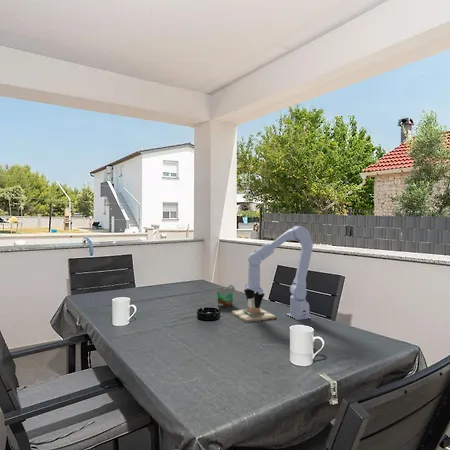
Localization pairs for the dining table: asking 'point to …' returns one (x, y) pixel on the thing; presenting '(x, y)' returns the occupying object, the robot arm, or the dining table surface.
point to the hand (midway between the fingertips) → (253, 305)
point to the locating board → (253, 315)
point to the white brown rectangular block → (252, 306)
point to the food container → (225, 296)
